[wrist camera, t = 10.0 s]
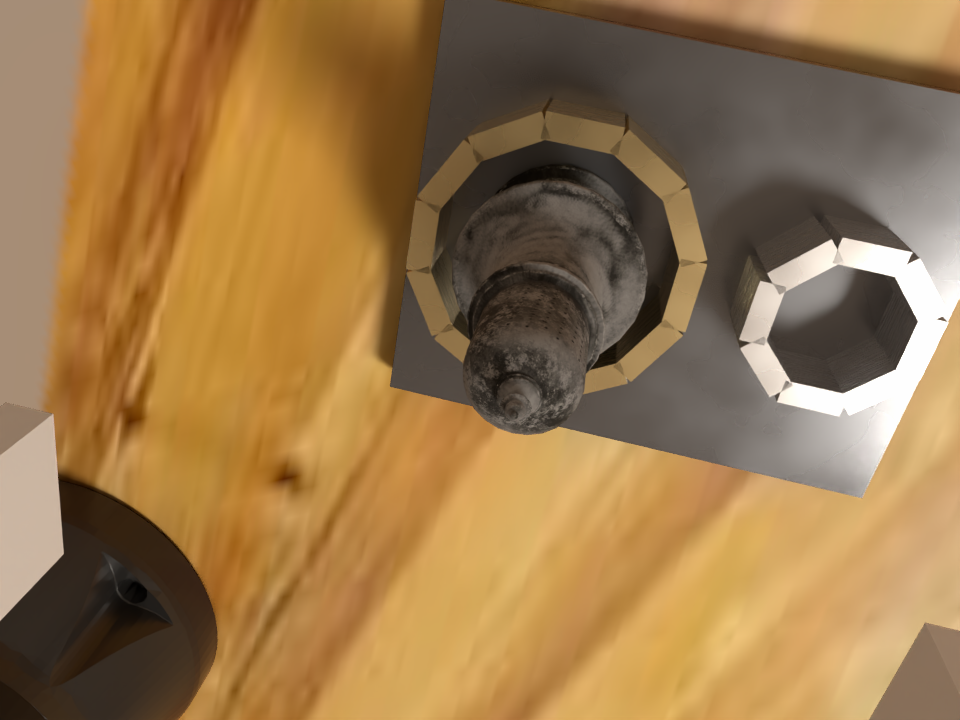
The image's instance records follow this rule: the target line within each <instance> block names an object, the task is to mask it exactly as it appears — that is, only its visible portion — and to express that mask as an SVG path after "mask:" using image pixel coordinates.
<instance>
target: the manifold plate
mask: <svg viewBox="0 0 960 720" xmlns="http://www.w3.org/2000/svg"><path fill="white" fill-rule="evenodd" d="M551 164H554V165H569V166H575V167H578V168H581V169H584V170H587V171H590V172H593V173H594V174H596V175H597V176H599V177H600V178H602V179H603V180H605V181H606V182H608V183H609V184H610V185H611V186H612V187H613V188H614V189H615V190H616V192H617V193H618V194H619V195H620V196H621V197H622V199H623V200H624V202H625V204H626V206H627V208H628V210H629V212H630V215H631V217H632V219H633V225H634V229H635V231H636V233H637V235H638V237H639V239H640V241H641V244H642V246H643V248H644V254H645V260H646V266H647V273H648V275H647V283H646V291H645V298H644V301H643V303H642V305H641V308H640V310H639V312H638V315H637V317H636V319H635V321H634V323H633V324H632V325H631V326H630V328H629V329H628V330H627V331H626V332H625V334H624V335H623V336H622V337H621V339H620V340H619V341H617V342H616V343H614V344H613V345H612V346H610V347H609V348H608V349H606V350H605V351H604V352H602V353H601V354H600V355H599V357H598V360H597V361H596V362H595V364H594V365H593V366H592V367H591V369H590V370H589V371H588V373H586V378H585V389H584V393H583V395H582V398H581V400H580V403H579V405H578V407H577V408H576V410H575V411H574V412H573V413H572V415H571V416H570V417H569V418H568V420H567V421H565V422H564V423H562V424H561V425H560V426H559V427H563V428H567V429H572V430H576V431H580V432H584V433H589V434H593V435H597V436H601V437H606V438H610V439H614V440H618V441H622V442H627V443H631V444H635V445H639V446H644V447H648V448H652V449H656V450H661V451H665V452H669V453H673V454H677V455H682V456H686V457H690V458H694V459H699V460H703V461H707V462H711V463H716V464H720V465H724V466H728V467H732V468H737V469H741V470H745V471H749V472H754V473H758V474H762V475H766V476H771V477H775V478H779V479H783V480H788V481H792V482H796V483H800V484H804V485H809V486H813V487H817V488H821V489H826V490H830V491H834V492H838V493H843V494H847V495H851V496H855V497H859V498H862V497H863V495H864V493H865V491H866V489H867V487H868V485H869V483H870V481H871V479H872V477H873V475H874V472H875V470H876V468H877V466H878V464H879V462H880V460H881V458H882V456H883V454H884V452H885V450H886V448H887V446H888V444H889V442H890V440H891V437H892V435H893V433H894V431H895V429H896V427H897V425H898V423H899V421H900V419H901V417H902V415H903V413H904V411H905V409H906V407H907V405H908V402H909V400H910V398H911V396H912V394H913V392H914V390H915V388H916V386H917V384H918V382H919V381H920V379H921V377H922V375H923V373H924V371H925V369H926V367H927V365H928V363H929V361H930V359H931V356H932V354H933V352H934V350H935V348H936V346H937V344H938V342H939V340H940V338H941V336H942V334H943V332H944V330H945V328H946V326H947V324H948V320H949V318H950V316H951V314H952V312H953V310H954V308H955V306H956V304H957V302H958V300H959V298H960V92H958V91H953V90H948V89H943V88H938V87H933V86H928V85H923V84H918V83H913V82H909V81H904V80H899V79H894V78H889V77H884V76H879V75H874V74H869V73H864V72H859V71H854V70H849V69H844V68H839V67H834V66H829V65H824V64H820V63H815V62H810V61H805V60H800V59H795V58H790V57H785V56H780V55H775V54H770V53H765V52H760V51H755V50H750V49H745V48H740V47H735V46H731V45H726V44H721V43H716V42H711V41H706V40H701V39H696V38H691V37H686V36H681V35H676V34H671V33H666V32H661V31H656V30H651V29H646V28H642V27H637V26H632V25H627V24H622V23H617V22H612V21H607V20H602V19H597V18H592V17H587V16H582V15H577V14H572V13H567V12H562V11H557V10H553V9H548V8H543V7H538V6H533V5H528V4H523V3H518V2H513V1H508V0H445V4H444V11H443V18H442V25H441V32H440V39H439V46H438V53H437V60H436V67H435V74H434V81H433V88H432V95H431V102H430V109H429V116H428V123H427V130H426V137H425V144H424V151H423V158H422V165H421V173H420V180H419V187H418V194H417V199H416V200H415V207H414V214H413V221H412V228H411V235H410V242H409V249H408V257H407V264H406V269H407V271H406V278H405V285H404V292H403V299H402V306H401V313H400V320H399V327H398V334H397V341H396V348H395V355H394V362H393V369H392V376H391V383H390V387H394V388H398V389H402V390H407V391H411V392H415V393H419V394H423V395H428V396H432V397H436V398H440V399H445V400H449V401H453V402H457V403H462V404H466V405H470V406H472V404H471V402H470V401H469V399H468V397H467V394H466V391H465V387H464V383H463V361H464V358H465V355H466V352H467V348H468V346H469V344H470V340H469V336H468V332H467V321H466V319H465V317H464V315H463V313H462V312H461V310H460V308H459V306H458V304H457V300H456V296H455V292H454V288H453V285H452V257H453V254H454V251H455V247H456V244H457V241H458V237H459V235H460V233H461V231H462V230H463V228H464V227H465V225H466V224H467V222H468V220H469V219H470V217H471V216H472V214H473V213H474V212H475V211H476V210H477V209H478V208H480V207H481V206H482V205H483V204H484V203H485V202H486V201H487V200H488V199H490V198H491V197H492V196H494V195H495V194H496V192H497V191H498V190H499V189H500V188H501V187H502V186H504V185H505V184H506V183H507V182H508V181H509V180H510V179H511V178H513V177H515V176H517V175H519V174H521V173H523V172H525V171H527V170H529V169H531V168H536V167H541V166H546V165H551Z"/></svg>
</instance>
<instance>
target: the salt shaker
mask: <svg viewBox="0 0 960 720" xmlns="http://www.w3.org/2000/svg"><path fill="white" fill-rule="evenodd" d="M647 275H648V273H647V266H646V260H645V254H644V248H643V246H642V244H641V241H640V239H639V237H638V235H637V233H636V231H635V229H634V225H633V219H632V217H631V215H630V212H629V210H628V208H627V206H626V204H625V202H624V200H623V199H622V197H621V196H620V195H619V194H618V193H617V192H616V190H615V189H614V188H613V187H612V186H611V185H610V184H609V183H608V182H606V181H605V180H603V179H602V178H600V177H599V176H597V175H596V174H594V173H593V172H590V171H587V170H584V169H581V168H578V167H575V166H569V165H554V164H551V165H546V166H541V167H536V168H531V169H529V170H527V171H525V172H523V173H521V174H519V175H517V176H515V177H513V178H511V179H510V180H509V181H508V182H507V183H506V184H505V185H504V186H502V187H501V188H500V189H499V190H498V191H497V192H496V194H495V195H494V196H492V197H491V198H490V199H488V200H487V201H486V202H485V203H484V204H483V205H482V206H481V207H480V208H478V209H477V210H476V211H475V212H474V213H473V214H472V216H471V217H470V219H469V220H468V222H467V224H466V225H465V227H464V228H463V230H462V231H461V233H460V235H459V237H458V241H457V244H456V247H455V251H454V254H453V257H452V285H453V288H454V292H455V296H456V300H457V304H458V306H459V308H460V310H461V312H462V313H463V315H464V317H465V319H466V321H467V332H468V336H469V340H470V344H469V346H468V348H467V352H466V355H465V358H464V361H463V383H464V387H465V391H466V394H467V397H468V399H469V401H470V402H471V404H472V406H473V407H474V409H475V410H476V411H477V412H478V413H479V414H480V415H481V416H482V417H483V418H484V419H485V420H486V421H488V422H489V423H491V424H492V425H494V426H496V427H497V428H499V429H502V430H505V431H508V432H511V433H515V434H524V435H531V434H540V433H544V432H547V431H550V430H552V429H555V428H557V427H558V426H560V425H561V424H562V423H564V422H565V421H567V420H568V418H569V417H570V416H571V415H572V413H573V412H574V411H575V410H576V408H577V407H578V405H579V403H580V400H581V398H582V395H583V393H584V389H585V378H586V373H588V371H589V370H590V369H591V367H592V366H593V365H594V364H595V362H596V361H597V360H598V357H599V355H600V354H601V353H602V352H604V351H605V350H606V349H608V348H609V347H610V346H612V345H613V344H614V343H616V342H617V341H619V340H620V339H621V337H622V336H623V335H624V334H625V332H626V331H627V330H628V329H629V328H630V326H631V325H632V324H633V323H634V321H635V319H636V317H637V315H638V312H639V310H640V308H641V305H642V303H643V301H644V298H645V291H646V283H647Z"/></svg>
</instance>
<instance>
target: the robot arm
mask: <svg viewBox="0 0 960 720" xmlns="http://www.w3.org/2000/svg"><path fill="white" fill-rule="evenodd" d="M216 650H217V626H216V620H215V615H214V612H213V608H212V605H211V602H210V600H209V597H208V595H207V593H206V591H205V588H204V587H203V585H202V583H201V581H200V579H199V578H198V576H197V574H196V573H195V571H194V570H193V568H192V567H191V566H190V564H189V563H188V562H187V560H186V559H185V558H184V557H183V555H182V554H181V553H180V552H179V551H178V550H177V549H176V548H175V546H174V545H173V544H172V543H171V542H170V541H169V540H168V539H167V538H166V537H164V536H163V535H162V534H161V533H160V532H159V531H158V530H157V529H155V528H154V527H153V526H152V525H150V524H149V523H148V522H147V521H145V520H144V519H143V518H141V517H140V516H138V515H137V514H135V513H134V512H132V511H131V510H129V509H127V508H126V507H124V506H123V505H121V504H119V503H117V502H115V501H113V500H111V499H109V498H107V497H105V496H103V495H101V494H99V493H96V492H94V491H91V490H89V489H86V488H83V487H80V486H78V485H74V484H71V483H67V482H63V481H59V480H58V471H57V457H56V444H55V431H54V418H53V414H52V413H47V412H43V411H39V410H35V409H31V408H26V407H22V406H18V405H14V404H10V403H4V404H3V405H1V406H0V720H178V719H179V718H180V717H181V716H182V714H183V713H184V712H185V711H186V709H187V708H188V707H189V705H190V704H191V702H192V700H193V699H194V697H195V695H196V694H197V692H198V690H199V689H200V687H201V685H202V683H203V682H204V680H205V678H206V677H207V675H208V673H209V672H210V669H211V667H212V665H213V662H214V659H215V655H216ZM869 720H960V631H958V630H954V629H949V628H945V627H941V626H937V625H933V624H929V623H925V624H924V626H923V627H922V629H921V631H920V632H919V634H918V636H917V638H916V639H915V641H914V643H913V645H912V646H911V648H910V650H909V652H908V653H907V655H906V657H905V658H904V660H903V662H902V664H901V665H900V667H899V669H898V671H897V672H896V674H895V676H894V678H893V679H892V681H891V683H890V684H889V686H888V688H887V690H886V691H885V693H884V695H883V697H882V698H881V700H880V702H879V703H878V705H877V707H876V709H875V710H874V712H873V714H872V716H871V717H870V719H869Z"/></svg>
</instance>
